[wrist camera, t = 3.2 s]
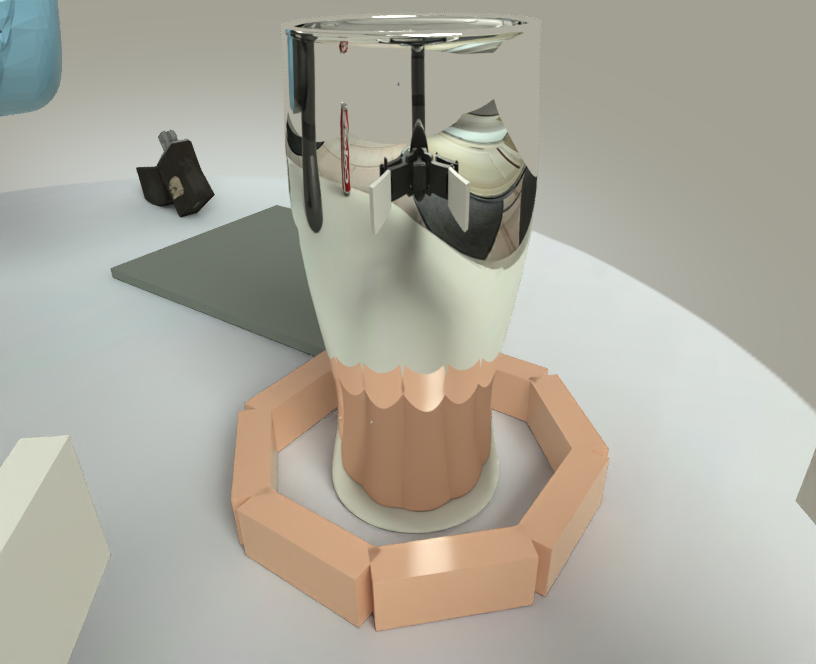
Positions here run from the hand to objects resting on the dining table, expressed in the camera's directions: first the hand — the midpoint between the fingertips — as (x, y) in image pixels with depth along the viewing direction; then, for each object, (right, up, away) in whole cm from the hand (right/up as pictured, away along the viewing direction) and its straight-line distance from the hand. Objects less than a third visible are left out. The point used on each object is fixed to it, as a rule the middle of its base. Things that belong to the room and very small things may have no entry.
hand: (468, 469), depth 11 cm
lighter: (-19, +12, +38) cm, 44 cm away
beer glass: (-1, -3, +12) cm, 13 cm away
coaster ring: (-1, -3, +12) cm, 13 cm away
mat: (-8, +6, +28) cm, 30 cm away
